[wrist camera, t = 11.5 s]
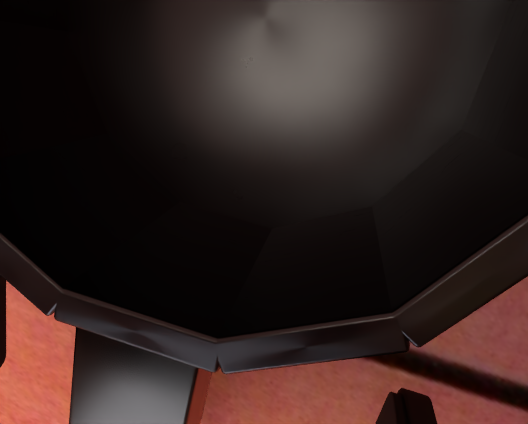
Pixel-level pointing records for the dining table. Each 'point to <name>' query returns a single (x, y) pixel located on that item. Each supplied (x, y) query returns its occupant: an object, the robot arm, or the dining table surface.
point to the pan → (256, 182)
